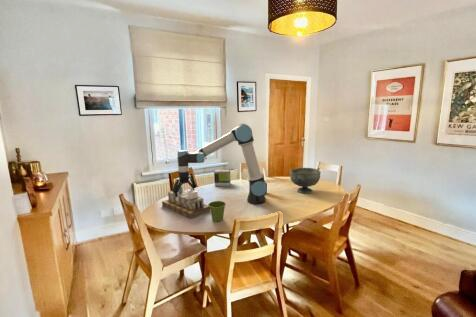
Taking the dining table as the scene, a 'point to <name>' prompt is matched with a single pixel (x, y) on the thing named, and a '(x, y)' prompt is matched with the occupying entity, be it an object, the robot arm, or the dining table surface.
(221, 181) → the tea box
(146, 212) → the dining table surface
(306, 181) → the decorative bowl
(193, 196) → the cargo crate
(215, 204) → the plant pot
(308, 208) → the dining table surface
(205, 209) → the grey flat block
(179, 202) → the grey lumpy bar
